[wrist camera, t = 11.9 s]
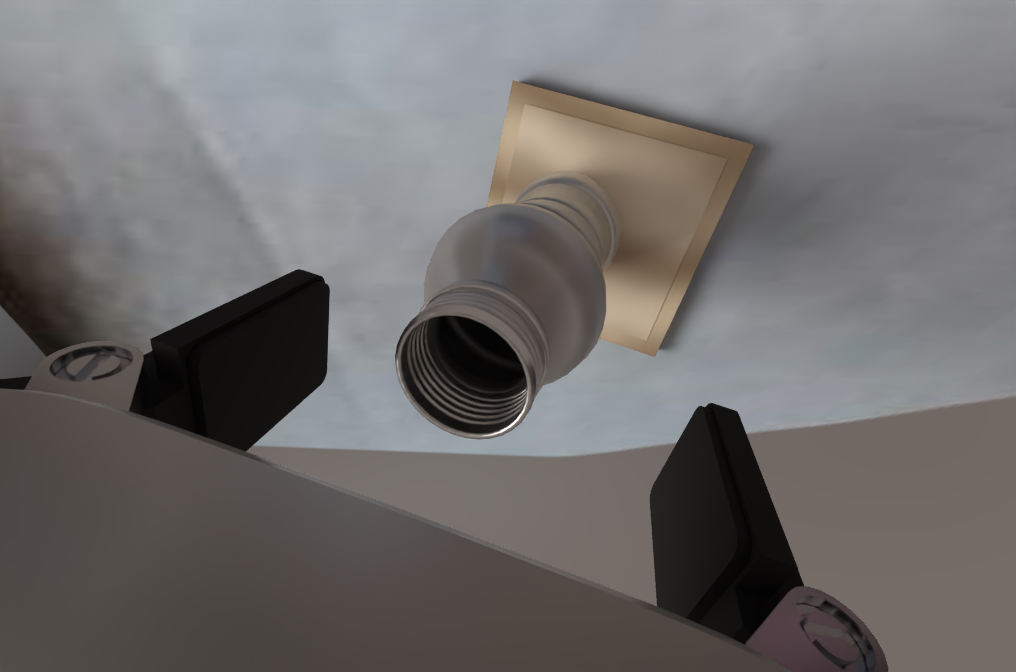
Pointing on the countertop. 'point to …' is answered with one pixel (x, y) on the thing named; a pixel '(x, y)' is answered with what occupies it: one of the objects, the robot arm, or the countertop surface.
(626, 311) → the oak board
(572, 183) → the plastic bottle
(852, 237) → the countertop surface
